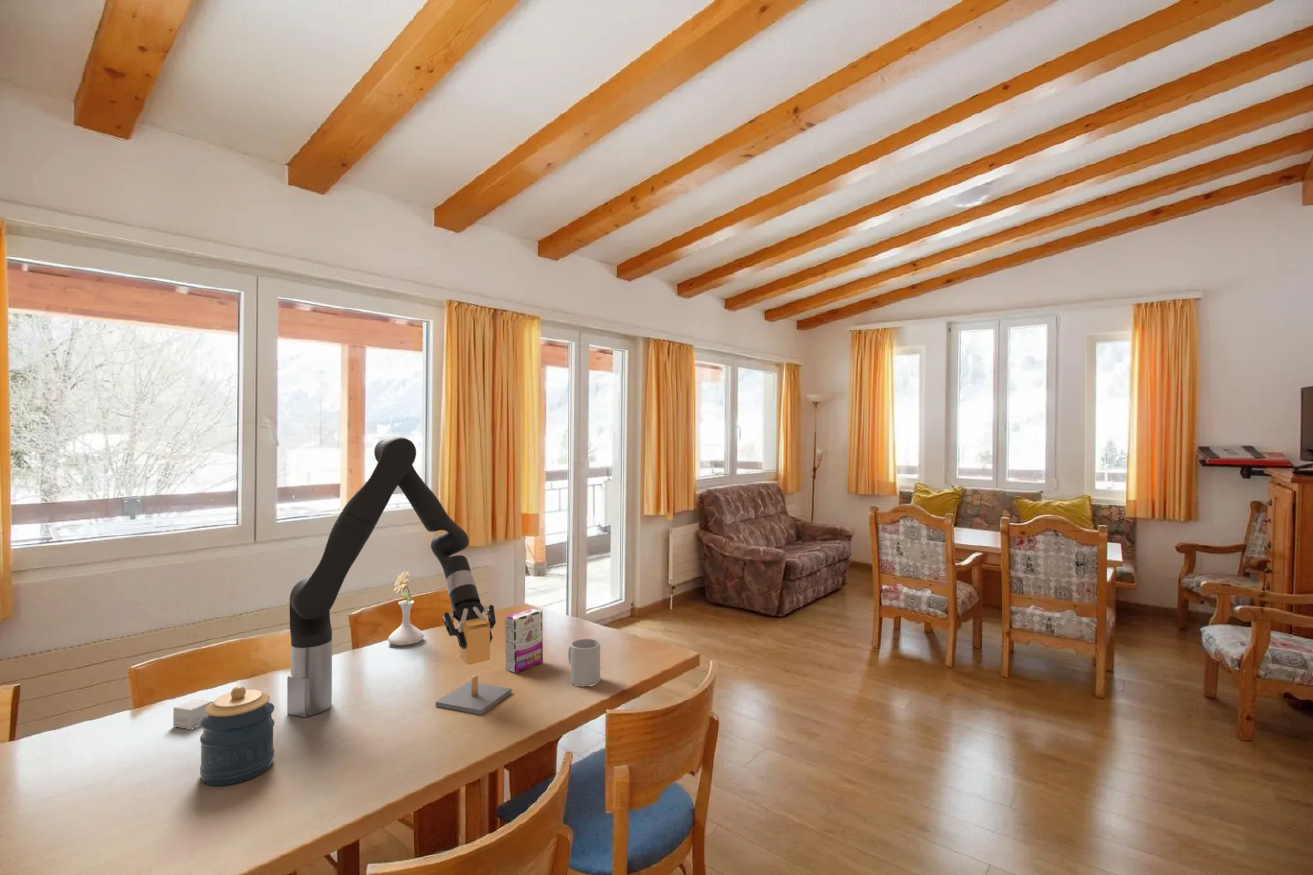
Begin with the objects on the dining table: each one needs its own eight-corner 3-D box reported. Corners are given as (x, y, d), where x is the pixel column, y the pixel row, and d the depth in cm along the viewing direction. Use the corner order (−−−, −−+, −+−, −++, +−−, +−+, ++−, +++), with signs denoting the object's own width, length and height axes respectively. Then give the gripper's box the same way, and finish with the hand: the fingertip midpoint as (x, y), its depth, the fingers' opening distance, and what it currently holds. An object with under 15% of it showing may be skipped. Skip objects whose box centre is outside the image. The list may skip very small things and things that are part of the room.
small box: (213, 720, 152) (213, 700, 152) (190, 730, 147) (190, 710, 147) (195, 717, 154) (195, 697, 154) (172, 727, 148) (172, 707, 148)
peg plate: (481, 714, 156) (481, 690, 156) (435, 706, 161) (435, 682, 161) (511, 692, 169) (511, 670, 169) (468, 685, 174) (468, 663, 174)
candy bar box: (532, 659, 194) (532, 607, 194) (543, 662, 191) (543, 610, 191) (504, 669, 186) (504, 615, 185) (514, 674, 183) (515, 618, 182)
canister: (261, 747, 139) (261, 669, 139) (283, 767, 131) (284, 685, 131) (191, 771, 129) (191, 687, 129) (210, 795, 121) (211, 705, 121)
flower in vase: (387, 639, 212) (387, 567, 211) (422, 635, 216) (423, 564, 216) (388, 652, 200) (388, 575, 199) (425, 647, 204) (426, 572, 204)
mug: (606, 681, 177) (606, 643, 177) (582, 690, 172) (582, 650, 171) (580, 669, 186) (581, 633, 186) (557, 677, 180) (557, 640, 180)
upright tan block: (489, 659, 164) (489, 622, 164) (467, 664, 161) (467, 626, 160) (481, 653, 169) (481, 616, 169) (460, 657, 166) (460, 620, 165)
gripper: (439, 586, 166) (453, 643, 157) (490, 579, 175) (507, 632, 165) (433, 602, 171) (446, 657, 161) (484, 594, 179) (499, 646, 170)
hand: (477, 644), depth 163 cm, fingers closed on upright tan block, 6 cm apart
